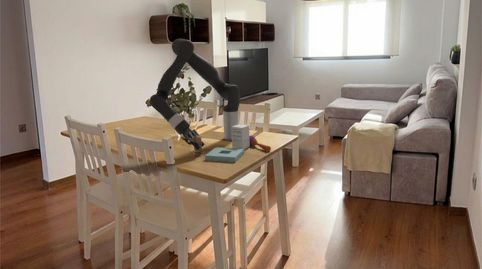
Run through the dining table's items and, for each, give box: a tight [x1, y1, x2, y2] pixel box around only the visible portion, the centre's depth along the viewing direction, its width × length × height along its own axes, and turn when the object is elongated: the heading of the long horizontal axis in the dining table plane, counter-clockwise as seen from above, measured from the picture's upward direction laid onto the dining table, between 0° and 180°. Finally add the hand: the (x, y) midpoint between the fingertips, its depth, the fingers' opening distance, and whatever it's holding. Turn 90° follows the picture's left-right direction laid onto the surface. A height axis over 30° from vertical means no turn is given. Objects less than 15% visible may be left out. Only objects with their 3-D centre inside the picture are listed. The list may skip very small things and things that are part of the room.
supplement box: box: [231, 123, 251, 150], centre depth 217 cm, size 7×7×13 cm
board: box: [204, 147, 245, 163], centre depth 201 cm, size 16×16×2 cm
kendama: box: [249, 135, 272, 153], centre depth 217 cm, size 6×6×20 cm
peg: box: [193, 135, 203, 157], centre depth 205 cm, size 4×4×10 cm
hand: (201, 147), depth 204 cm, fingers open, 5 cm apart
